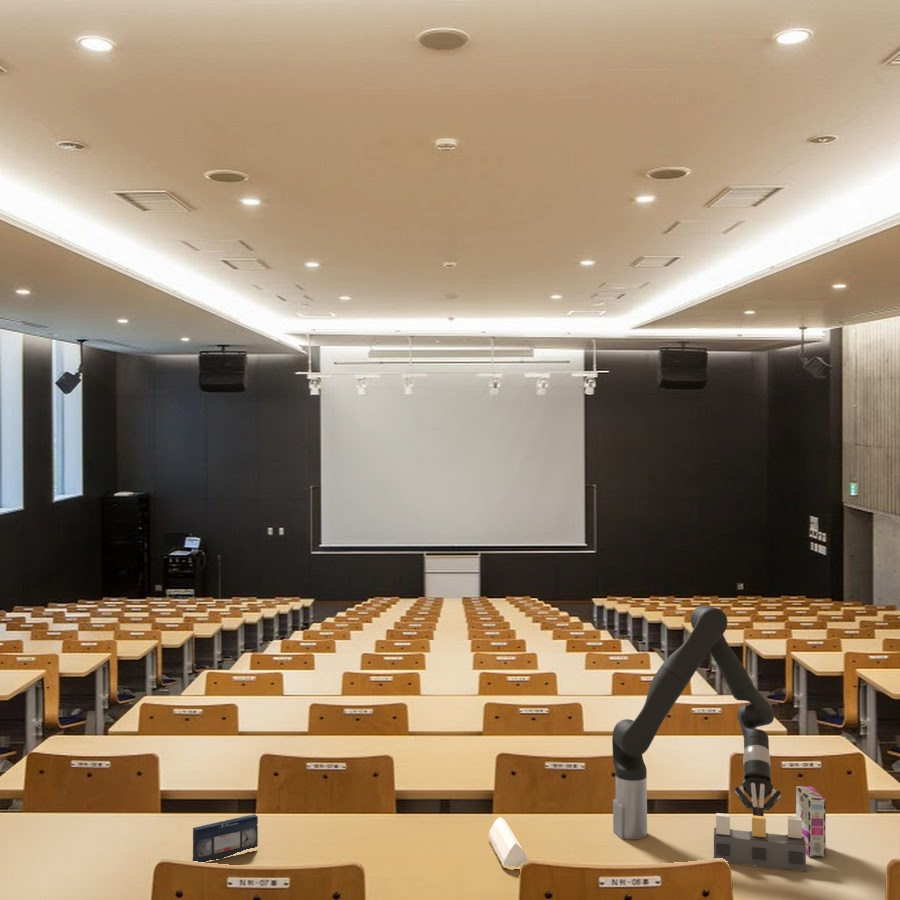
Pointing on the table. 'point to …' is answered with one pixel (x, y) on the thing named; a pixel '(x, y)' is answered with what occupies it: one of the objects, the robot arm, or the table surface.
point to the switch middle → (758, 826)
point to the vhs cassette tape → (224, 838)
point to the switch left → (723, 824)
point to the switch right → (795, 827)
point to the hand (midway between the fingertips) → (758, 822)
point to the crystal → (506, 844)
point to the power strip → (761, 850)
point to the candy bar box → (812, 819)
